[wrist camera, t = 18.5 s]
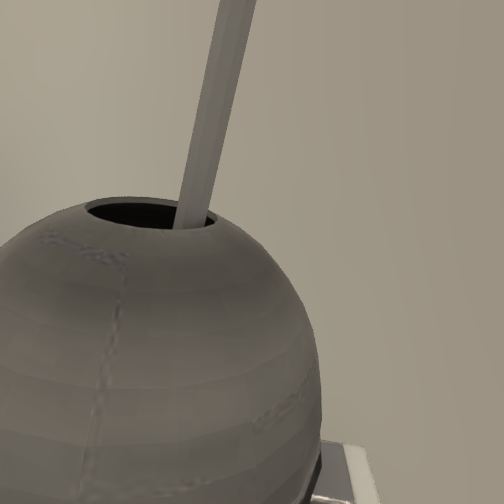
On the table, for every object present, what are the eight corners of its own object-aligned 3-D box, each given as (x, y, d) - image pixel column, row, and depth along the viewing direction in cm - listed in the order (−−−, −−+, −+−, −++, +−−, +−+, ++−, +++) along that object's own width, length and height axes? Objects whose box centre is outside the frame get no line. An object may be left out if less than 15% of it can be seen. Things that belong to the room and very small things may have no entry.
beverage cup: (90, 557, 15) (105, -30, 9) (267, 634, 14) (426, -7, 8) (-124, 883, 9) (-598, -503, 2) (176, 1106, 7) (887, -1081, 1)
